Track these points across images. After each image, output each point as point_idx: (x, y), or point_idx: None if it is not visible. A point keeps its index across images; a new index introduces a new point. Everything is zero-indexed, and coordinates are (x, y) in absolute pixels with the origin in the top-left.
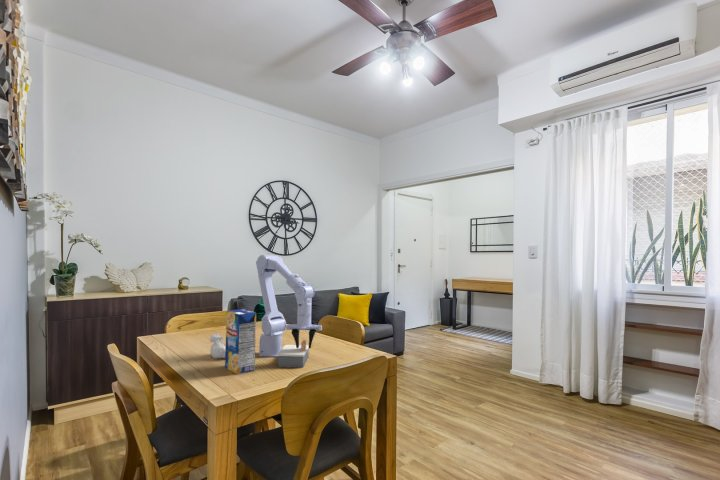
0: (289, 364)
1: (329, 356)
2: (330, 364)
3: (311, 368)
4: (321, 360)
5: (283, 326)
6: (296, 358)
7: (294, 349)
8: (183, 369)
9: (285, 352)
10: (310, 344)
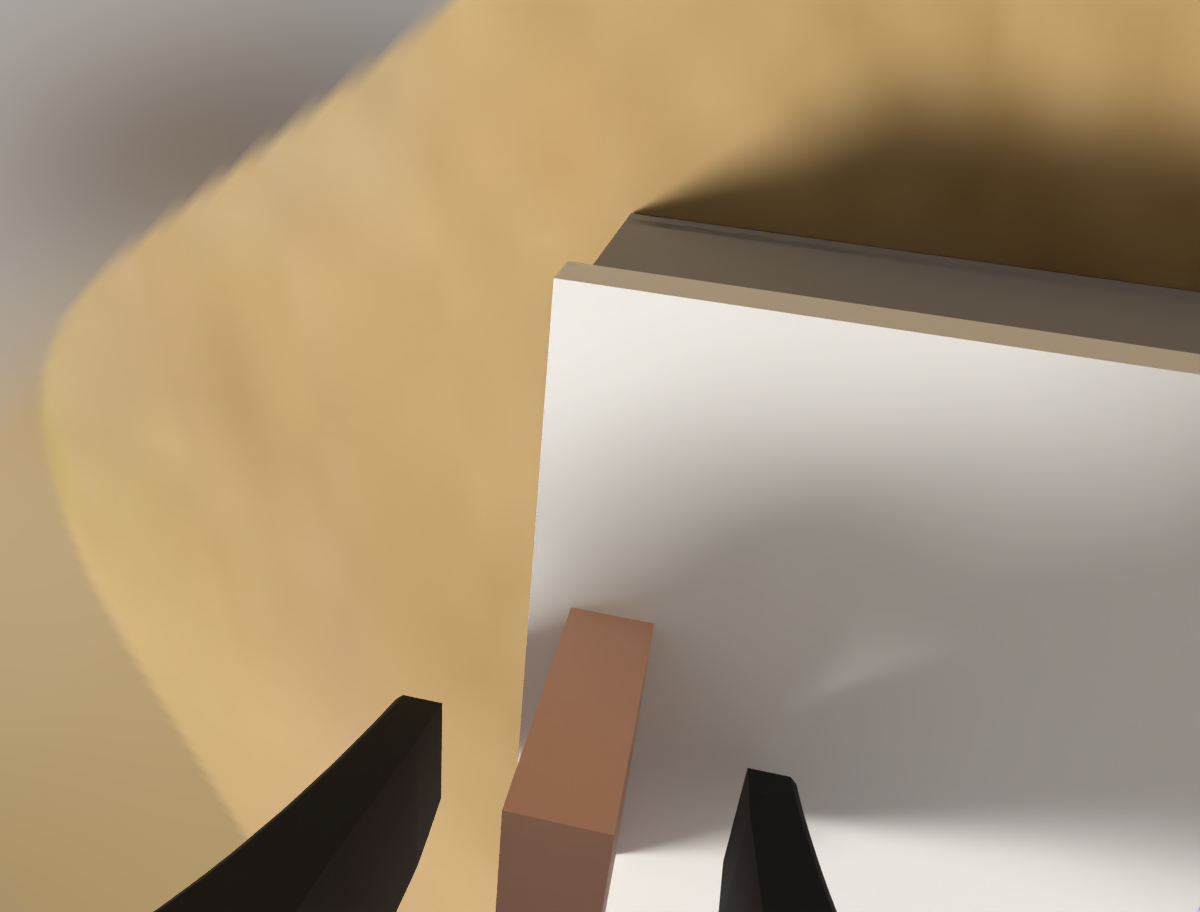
0: (964, 275)
1: (243, 753)
2: (122, 370)
3: (436, 140)
4: (326, 599)
5: None
6: (789, 290)
7: (843, 789)
8: None
9: (1163, 571)
10: (336, 764)
